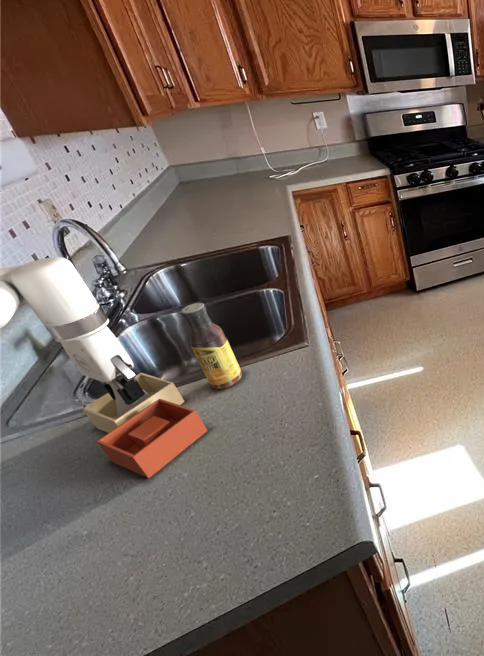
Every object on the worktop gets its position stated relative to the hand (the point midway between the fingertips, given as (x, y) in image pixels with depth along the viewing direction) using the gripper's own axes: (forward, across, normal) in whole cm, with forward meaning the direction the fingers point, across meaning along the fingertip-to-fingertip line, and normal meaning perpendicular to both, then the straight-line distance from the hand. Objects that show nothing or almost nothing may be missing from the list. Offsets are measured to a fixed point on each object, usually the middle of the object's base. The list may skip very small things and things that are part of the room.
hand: (129, 396), depth 84 cm
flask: (+5, 0, 0) cm, 5 cm away
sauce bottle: (+5, +9, +13) cm, 17 cm away
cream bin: (+5, 0, 0) cm, 5 cm away
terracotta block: (+5, +13, -4) cm, 14 cm away
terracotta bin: (+5, +13, -4) cm, 15 cm away
